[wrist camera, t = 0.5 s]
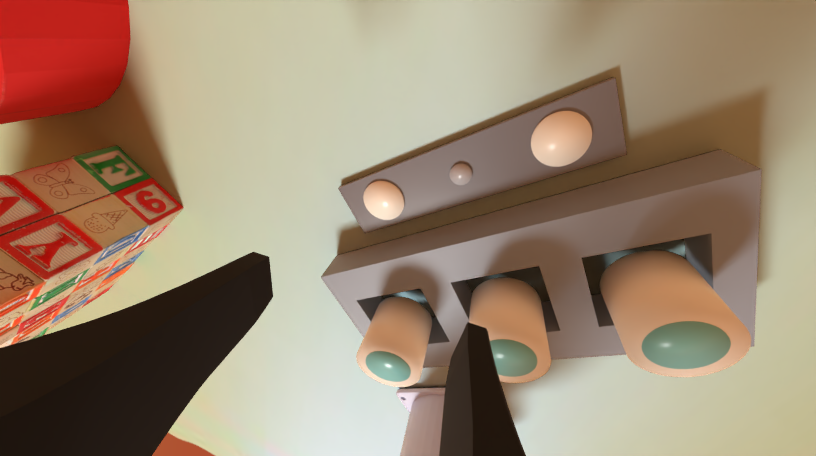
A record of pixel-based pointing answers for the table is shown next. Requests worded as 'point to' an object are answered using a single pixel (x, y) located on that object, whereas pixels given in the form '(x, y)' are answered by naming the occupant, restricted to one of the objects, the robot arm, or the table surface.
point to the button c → (671, 316)
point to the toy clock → (60, 55)
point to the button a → (396, 342)
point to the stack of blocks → (72, 236)
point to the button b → (512, 328)
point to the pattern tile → (494, 159)
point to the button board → (570, 252)
